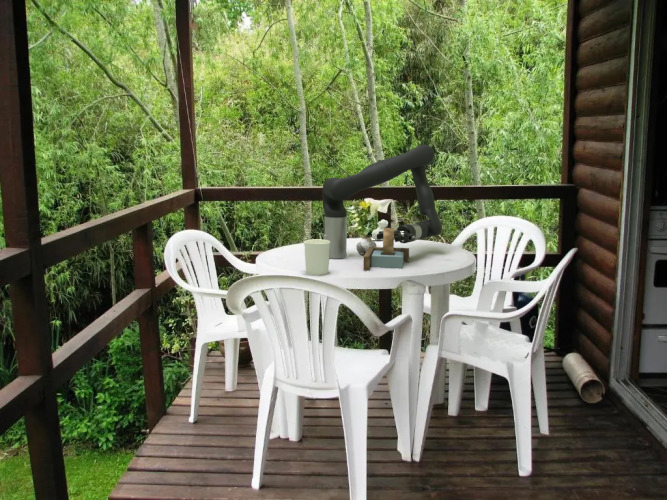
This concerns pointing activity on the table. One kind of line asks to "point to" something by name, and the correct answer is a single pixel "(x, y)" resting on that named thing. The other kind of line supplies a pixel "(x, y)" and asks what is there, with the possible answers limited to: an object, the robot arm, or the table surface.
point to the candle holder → (317, 256)
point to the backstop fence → (371, 249)
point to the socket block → (387, 259)
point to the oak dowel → (388, 241)
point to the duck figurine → (379, 229)
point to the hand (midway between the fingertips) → (386, 238)
